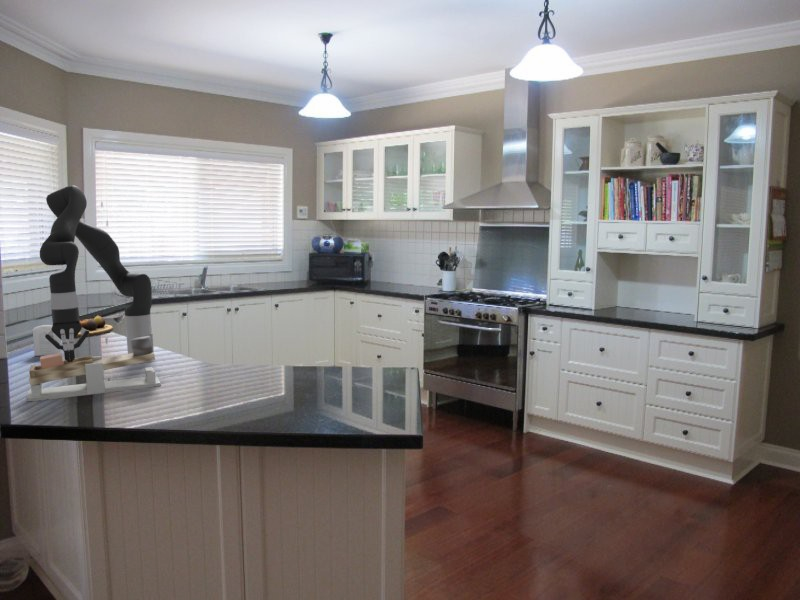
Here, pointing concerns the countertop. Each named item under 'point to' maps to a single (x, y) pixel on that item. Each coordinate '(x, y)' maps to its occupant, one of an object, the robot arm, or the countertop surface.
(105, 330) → the wooden plate with food
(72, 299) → the robot arm
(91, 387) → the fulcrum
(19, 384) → the countertop surface
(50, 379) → the beam
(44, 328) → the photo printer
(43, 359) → the rider
